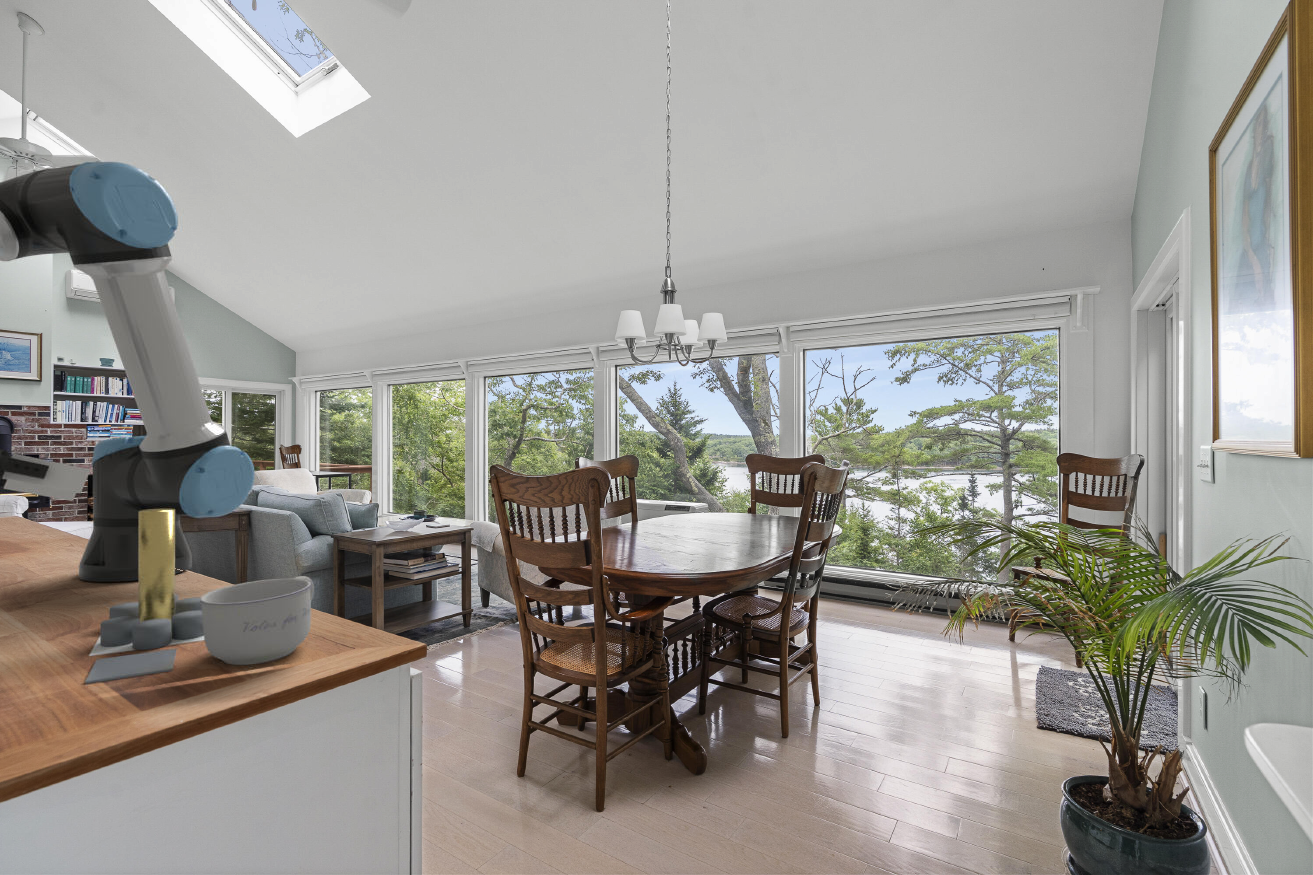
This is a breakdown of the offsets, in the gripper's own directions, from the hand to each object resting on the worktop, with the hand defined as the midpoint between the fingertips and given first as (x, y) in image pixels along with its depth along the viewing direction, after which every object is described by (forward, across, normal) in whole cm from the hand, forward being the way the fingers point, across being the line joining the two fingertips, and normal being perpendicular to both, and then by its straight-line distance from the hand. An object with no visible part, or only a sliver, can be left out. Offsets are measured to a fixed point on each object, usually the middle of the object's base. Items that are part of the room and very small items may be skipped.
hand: (81, 486), depth 78 cm
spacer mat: (+12, -1, -16) cm, 20 cm away
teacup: (+21, +16, -16) cm, 31 cm away
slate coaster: (+10, +12, -19) cm, 24 cm away
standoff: (+12, 0, -15) cm, 20 cm away
